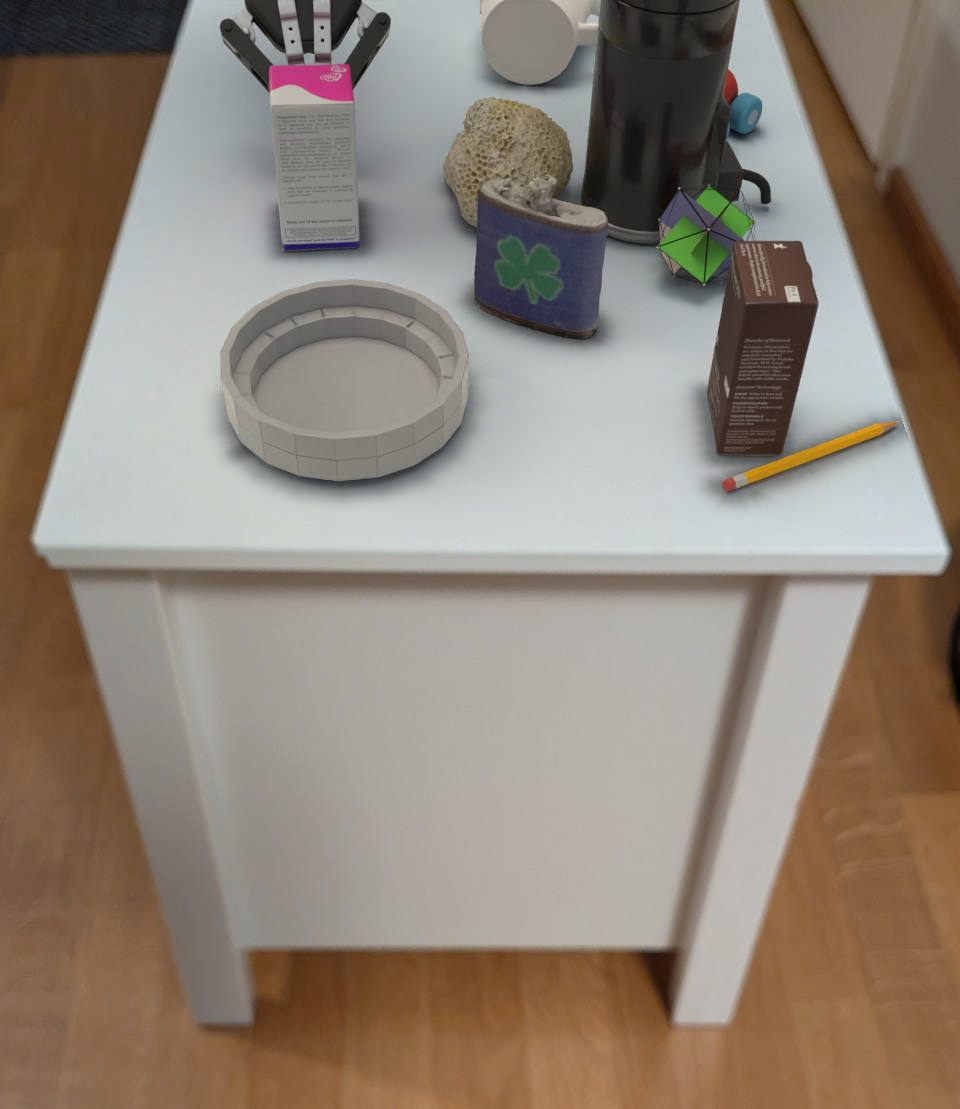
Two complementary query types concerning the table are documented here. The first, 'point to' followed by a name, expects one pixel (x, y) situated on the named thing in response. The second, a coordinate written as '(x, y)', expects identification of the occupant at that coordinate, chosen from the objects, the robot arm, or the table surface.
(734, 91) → the toy car
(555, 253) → the flask
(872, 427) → the pencil
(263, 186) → the table surface
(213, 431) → the table surface
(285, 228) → the supplement box
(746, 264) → the box
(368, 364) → the bowl
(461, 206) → the decorative item
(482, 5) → the mug
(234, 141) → the table surface
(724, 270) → the geometric puzzle
